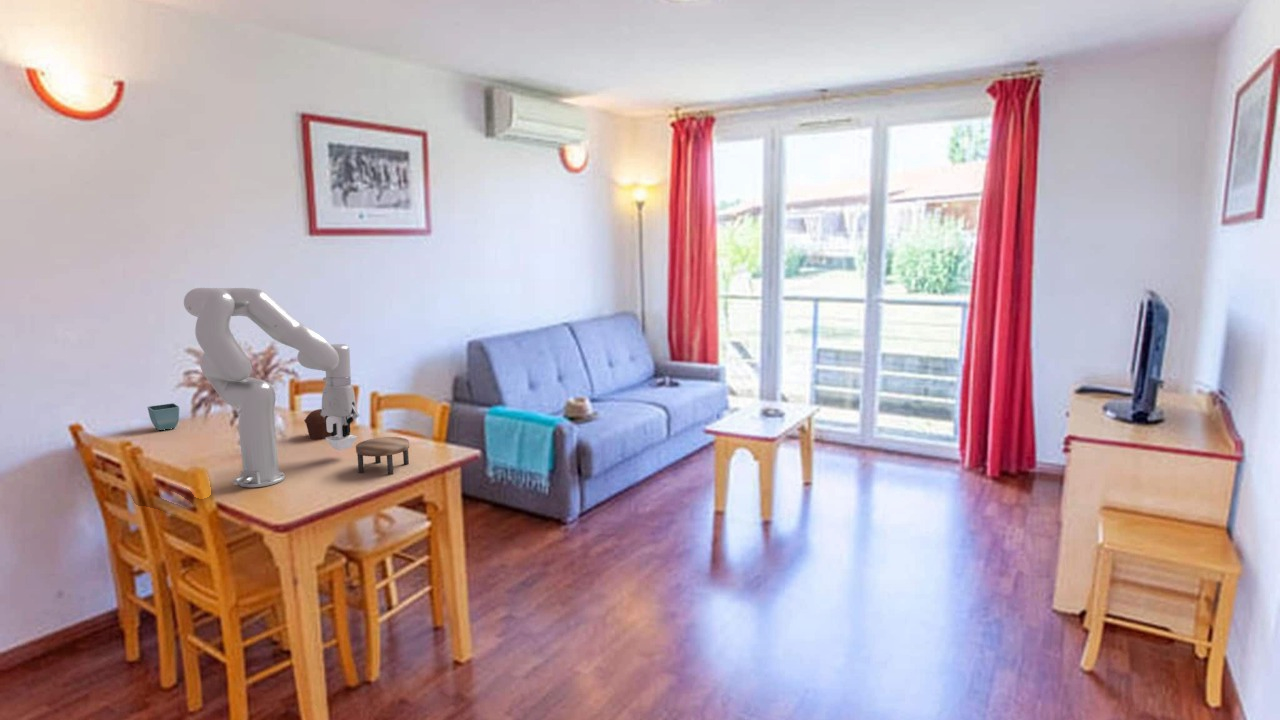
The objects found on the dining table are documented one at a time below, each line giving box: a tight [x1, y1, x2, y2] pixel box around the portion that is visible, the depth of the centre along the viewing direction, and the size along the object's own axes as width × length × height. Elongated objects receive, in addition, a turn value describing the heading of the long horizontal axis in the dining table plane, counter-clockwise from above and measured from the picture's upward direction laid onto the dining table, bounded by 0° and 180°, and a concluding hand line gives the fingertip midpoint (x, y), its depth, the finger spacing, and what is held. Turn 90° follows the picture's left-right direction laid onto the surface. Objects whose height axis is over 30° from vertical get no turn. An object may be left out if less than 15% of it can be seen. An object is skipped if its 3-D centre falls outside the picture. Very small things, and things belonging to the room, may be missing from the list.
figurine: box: [325, 414, 358, 451], centre depth 234 cm, size 7×9×15 cm
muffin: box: [303, 408, 331, 441], centre depth 261 cm, size 12×11×10 cm
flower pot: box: [147, 402, 180, 431], centre depth 270 cm, size 9×9×9 cm
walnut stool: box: [355, 436, 410, 476], centre depth 225 cm, size 16×16×8 cm
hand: (340, 435), depth 234 cm, fingers closed on figurine, 3 cm apart
